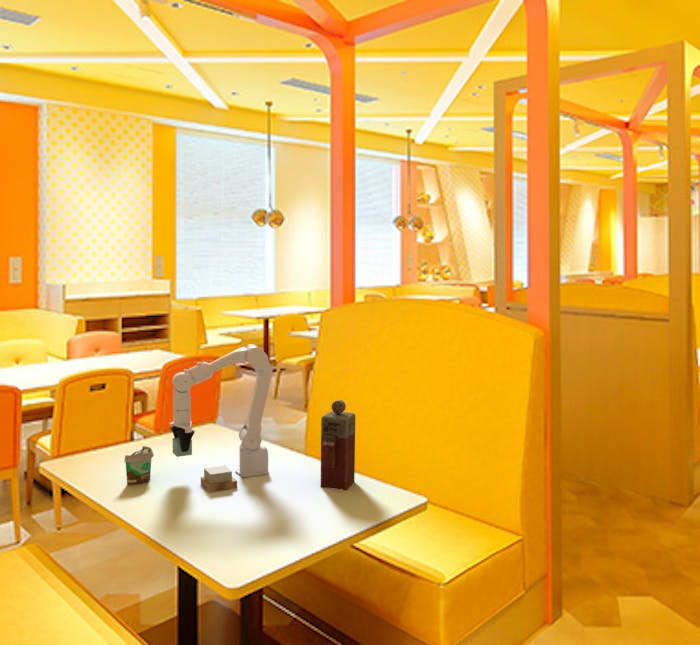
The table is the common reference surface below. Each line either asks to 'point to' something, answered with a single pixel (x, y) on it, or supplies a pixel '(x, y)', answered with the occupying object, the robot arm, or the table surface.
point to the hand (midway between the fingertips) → (182, 449)
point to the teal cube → (177, 448)
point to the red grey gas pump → (338, 448)
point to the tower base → (219, 485)
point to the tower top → (217, 474)
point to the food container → (139, 466)
